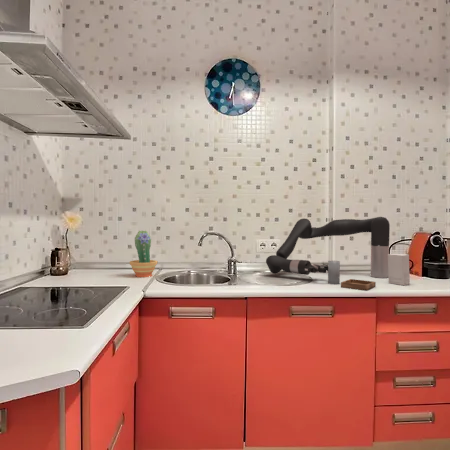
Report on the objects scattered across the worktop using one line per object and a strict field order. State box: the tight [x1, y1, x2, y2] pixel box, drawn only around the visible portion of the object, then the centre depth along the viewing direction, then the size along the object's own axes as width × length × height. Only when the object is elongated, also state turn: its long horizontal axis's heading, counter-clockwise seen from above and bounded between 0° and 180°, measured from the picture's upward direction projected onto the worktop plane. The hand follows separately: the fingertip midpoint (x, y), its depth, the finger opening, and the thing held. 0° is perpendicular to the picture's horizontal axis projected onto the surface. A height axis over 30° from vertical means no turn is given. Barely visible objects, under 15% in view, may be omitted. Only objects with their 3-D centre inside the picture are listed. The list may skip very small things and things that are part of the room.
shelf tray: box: [340, 278, 377, 292], centre depth 176 cm, size 12×12×2 cm
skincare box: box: [387, 253, 411, 286], centre depth 185 cm, size 8×6×15 cm
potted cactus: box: [128, 230, 158, 278], centre depth 205 cm, size 15×15×25 cm
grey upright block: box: [327, 260, 341, 285], centre depth 185 cm, size 6×6×11 cm
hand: (329, 269), depth 187 cm, fingers open, 8 cm apart
